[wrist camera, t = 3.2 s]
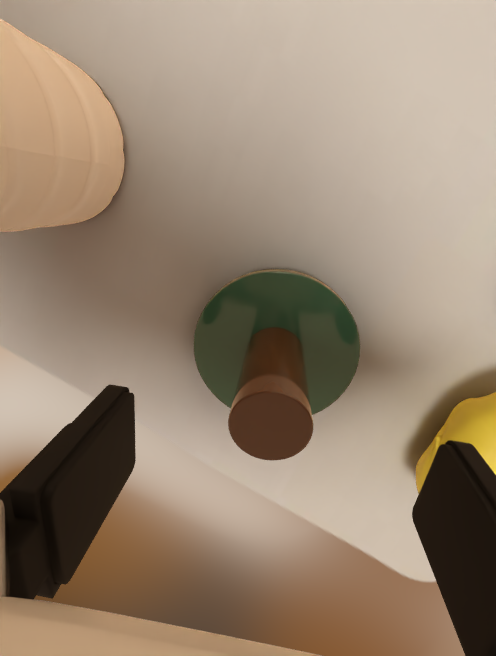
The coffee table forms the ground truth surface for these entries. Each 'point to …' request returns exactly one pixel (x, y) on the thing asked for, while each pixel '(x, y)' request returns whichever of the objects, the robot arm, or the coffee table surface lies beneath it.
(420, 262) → the coffee table surface
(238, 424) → the lid
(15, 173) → the water bottle
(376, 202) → the coffee table surface
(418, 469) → the lemon
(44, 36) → the coffee table surface
